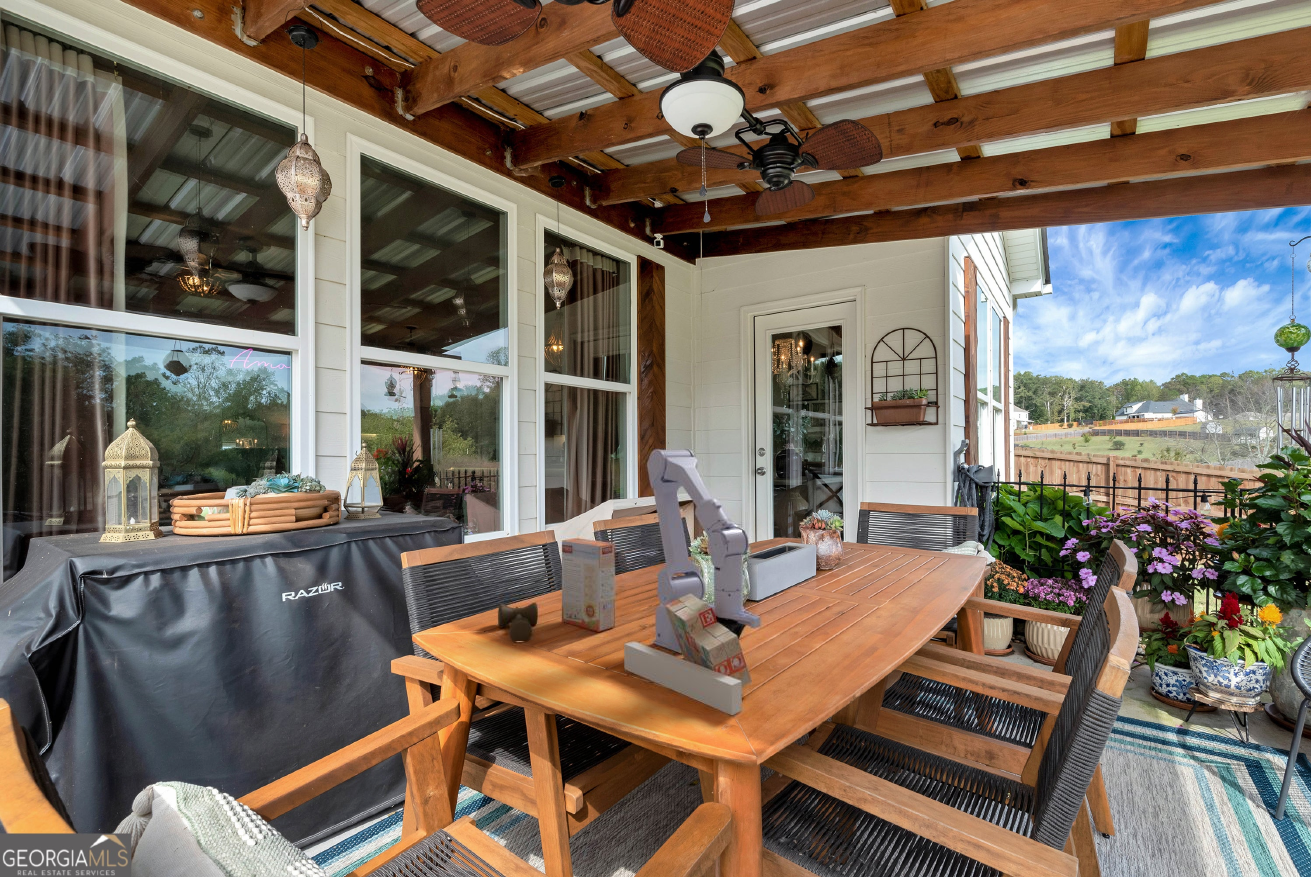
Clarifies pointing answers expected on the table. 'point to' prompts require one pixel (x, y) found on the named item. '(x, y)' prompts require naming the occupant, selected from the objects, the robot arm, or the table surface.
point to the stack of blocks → (706, 638)
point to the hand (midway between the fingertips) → (728, 656)
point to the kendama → (518, 620)
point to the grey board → (684, 677)
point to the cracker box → (588, 583)
